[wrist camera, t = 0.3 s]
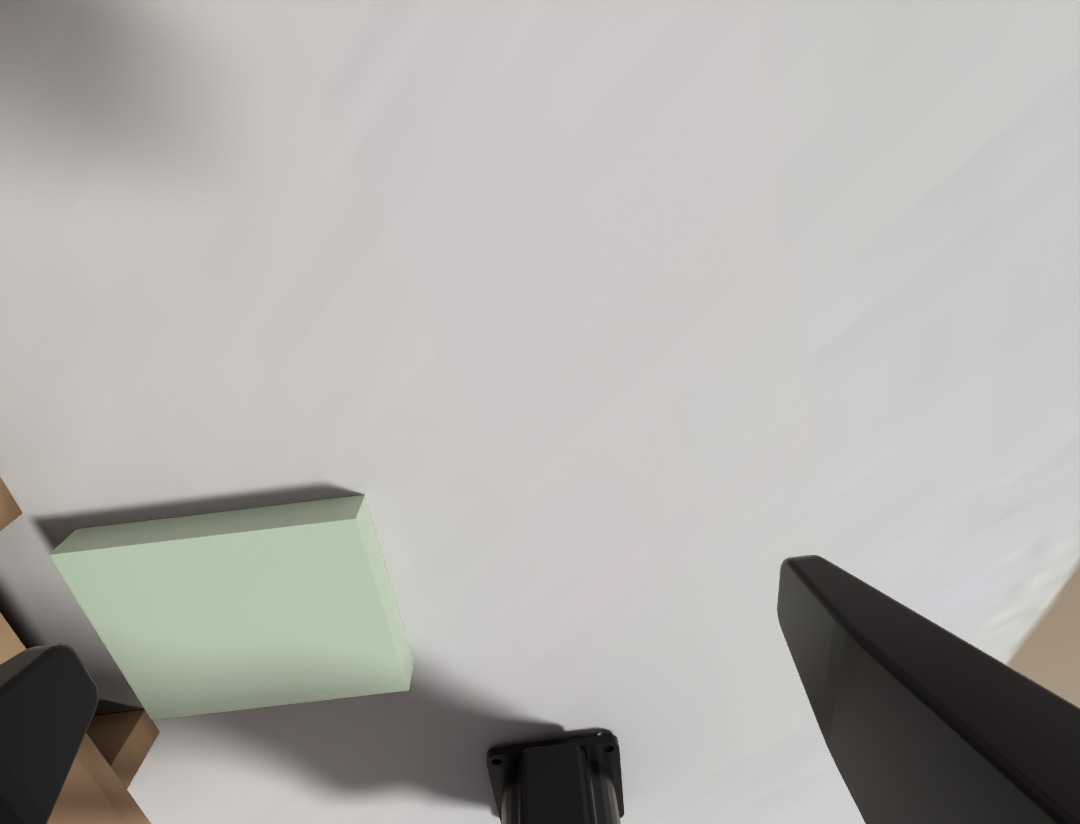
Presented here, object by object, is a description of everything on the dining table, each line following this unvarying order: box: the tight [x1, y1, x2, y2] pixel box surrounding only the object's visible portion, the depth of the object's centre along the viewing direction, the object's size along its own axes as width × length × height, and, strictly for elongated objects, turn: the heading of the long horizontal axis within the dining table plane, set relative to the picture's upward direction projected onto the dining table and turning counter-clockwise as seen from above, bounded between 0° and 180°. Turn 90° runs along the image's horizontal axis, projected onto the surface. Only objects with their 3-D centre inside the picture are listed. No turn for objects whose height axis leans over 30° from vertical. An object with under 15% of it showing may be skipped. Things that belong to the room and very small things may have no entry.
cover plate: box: [49, 495, 414, 720], centre depth 23 cm, size 9×11×2 cm
